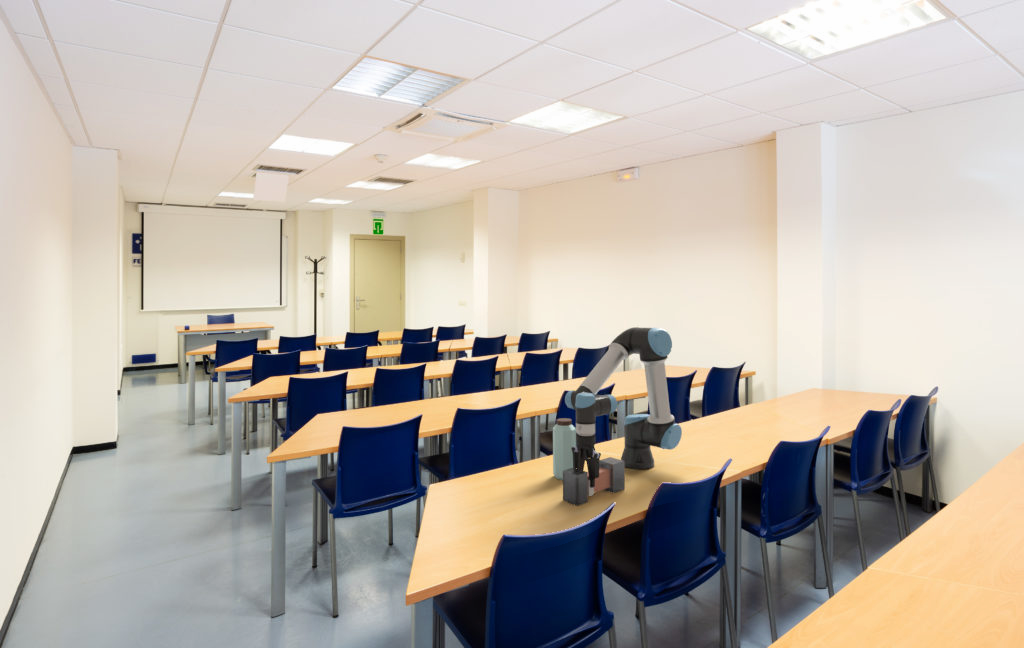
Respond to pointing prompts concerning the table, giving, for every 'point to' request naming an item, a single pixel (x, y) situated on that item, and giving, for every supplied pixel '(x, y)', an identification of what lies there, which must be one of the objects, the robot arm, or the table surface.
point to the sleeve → (614, 473)
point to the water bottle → (563, 446)
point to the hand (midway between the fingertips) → (586, 493)
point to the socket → (575, 486)
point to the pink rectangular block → (602, 479)
